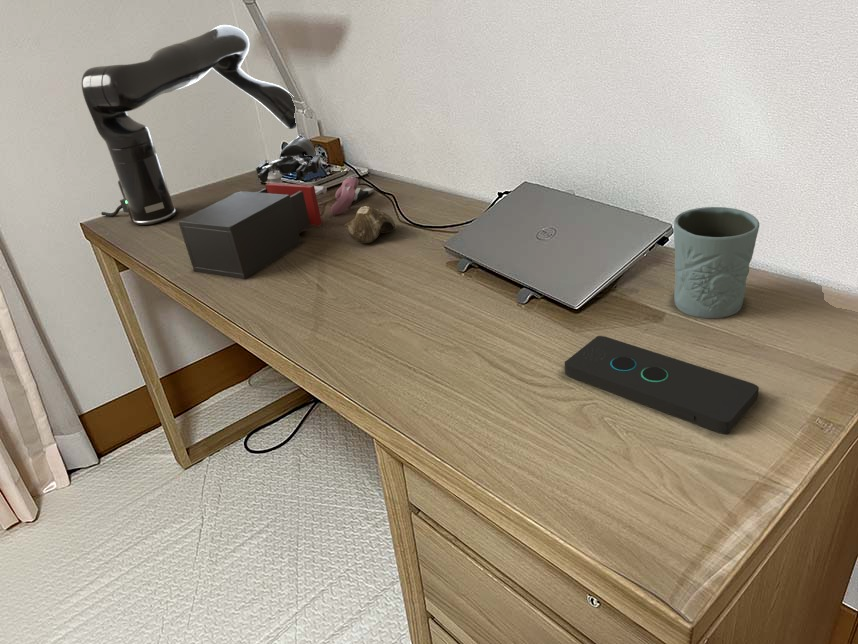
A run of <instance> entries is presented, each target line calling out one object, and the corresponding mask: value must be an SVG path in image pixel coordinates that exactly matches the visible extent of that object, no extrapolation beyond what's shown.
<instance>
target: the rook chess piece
mask: <svg viewBox="0 0 858 644" xmlns="http://www.w3.org/2000/svg"><path fill="white" fill-rule="evenodd" d="M282 177H283V175H282V174H281V173H280V171H278V170H277V171H275V173H273V171H271V172H269V173H268V181H269V183H281V184H284V183H283V182H284V181H283V180H282V179H283V178H282Z"/></svg>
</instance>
